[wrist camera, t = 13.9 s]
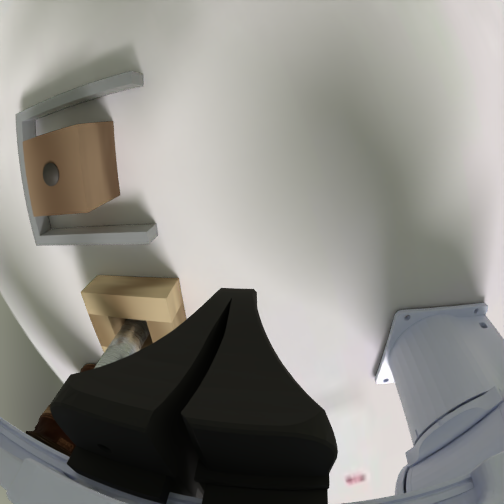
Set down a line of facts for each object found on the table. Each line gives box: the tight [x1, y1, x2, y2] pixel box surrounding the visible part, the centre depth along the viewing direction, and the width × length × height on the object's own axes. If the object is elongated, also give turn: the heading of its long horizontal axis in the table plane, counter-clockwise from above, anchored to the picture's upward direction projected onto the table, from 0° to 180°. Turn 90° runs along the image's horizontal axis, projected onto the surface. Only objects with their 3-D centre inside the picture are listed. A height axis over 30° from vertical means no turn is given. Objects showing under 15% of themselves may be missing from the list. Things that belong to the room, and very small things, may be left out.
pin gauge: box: [95, 319, 150, 368], centre depth 18 cm, size 2×2×7 cm
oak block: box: [81, 275, 186, 352], centre depth 20 cm, size 7×7×3 cm
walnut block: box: [23, 121, 120, 217], centre depth 15 cm, size 5×5×4 cm
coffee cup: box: [26, 364, 96, 489], centre depth 21 cm, size 9×8×13 cm
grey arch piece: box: [16, 71, 158, 246], centre depth 16 cm, size 11×11×2 cm
